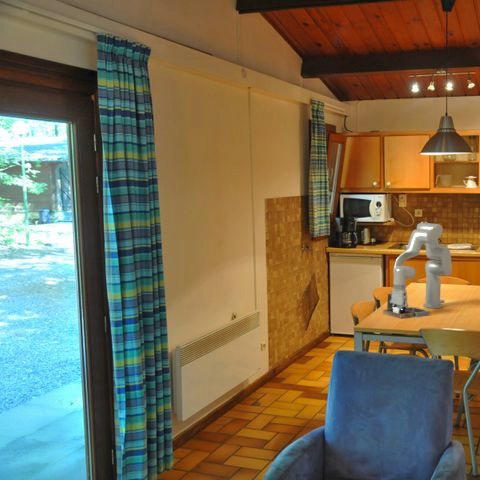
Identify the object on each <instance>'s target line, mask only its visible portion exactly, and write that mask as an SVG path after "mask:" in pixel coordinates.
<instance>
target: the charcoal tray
mask: <svg viewBox="0 0 480 480" xmlns="http://www.w3.org/2000/svg"><path fill="white" fill-rule="evenodd" d="M405 311H409V312H413V313H414V317H415V318H420V317H425V316H426V317H427V316H429V315H430V310H426V309H422V308H418V307H414V306H408V307H407V308H406V309H405Z"/></svg>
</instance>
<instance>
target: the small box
mask: <svg viewBox="0 0 480 480" xmlns="http://www.w3.org/2000/svg"><path fill="white" fill-rule="evenodd" d="M391 298H392V293H388V294H387V306H386V310H387V309H393V308H392V305H391V303H390V300H391ZM397 307H400V305H397ZM402 307H403V306H402Z"/></svg>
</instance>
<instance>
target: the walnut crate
mask: <svg viewBox="0 0 480 480" xmlns="http://www.w3.org/2000/svg"><path fill="white" fill-rule="evenodd" d="M382 312H383V313H382V315H385V316H388V317H389V316H390V317H393V318H398V319H401V320H402V319H408V318H413V317H414V313H413V312H409V311H405V313H404V314H399V313H395V312H393V309H387V308H386V309H383V310H382Z"/></svg>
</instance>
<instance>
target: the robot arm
mask: <svg viewBox="0 0 480 480" xmlns="http://www.w3.org/2000/svg"><path fill="white" fill-rule="evenodd" d="M443 231H444V228H443V225H441V224H439V223H429V222H420V223H417V225H416V229H414V230H413V231H412V232H411V234H410V237H409V240H408V244H407V247H406V249H405V250H404V251H403V252H402V253H401V254H400V255H399V256H398V257H397V258H396V260H395V262H394V266H393V271H392V274H393V288H392V290H391V294H392V298H391V300H390V303H391V305H392V308H393V307H397V305H400V307H401V310H400V314H404V313H405V309H406V308H408V307H409V303H408V293H407V286H406V283H407V282H406V281H407V280H406V279H413V278H414V277H415V276H416V274H417V271H416V268H414V267H413V266H407V265H403V264H404V263H405V262H406V261H407V260H409V259H411V258H414V257H417V256H418V255H420V253H421V248H422V247H423V244H425V252H426V258H427V259H430V260H427V261H426V262H425V265H424V269H425V275H426V276H425V277H426V279H425V281H426V282H425V302H424V303H423V304H422V306H423V307H424V308H428V309H440V308H441V309H442V307H443V305H442V304H443V303H445V302H446V301H445V300H444V299H441V286H442V285H441V284H442V283H441V278H440V276H443V277H448V276H450V275H451V274H452V267H453V266H452V254H451V250H450V248H449V247H448V246H445V245H440V244H439V238H440V237H441V236H442V234H443ZM402 306H403V307H402Z"/></svg>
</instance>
